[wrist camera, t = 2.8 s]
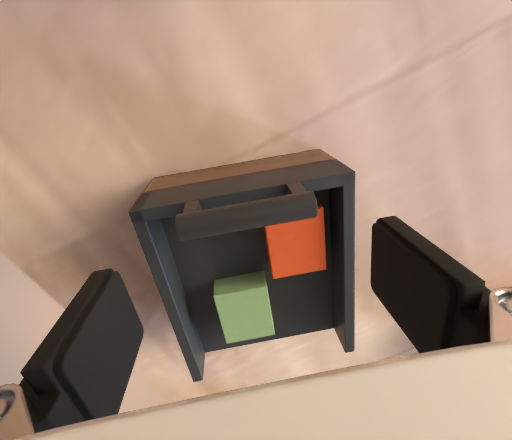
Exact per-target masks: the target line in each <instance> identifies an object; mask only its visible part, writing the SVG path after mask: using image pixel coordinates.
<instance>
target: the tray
mask: <svg viewBox="0 0 512 440" xmlns="http://www.w3.org/2000/svg"><path fill="white" fill-rule="evenodd" d="M316 199H317V200H318V202H319V203H320V204H321V205H322V207H323V208H324V228H325V248H326V269H325V270H320V271H315V272H309V273H304V274H298V275H293V276H288V277H282V278H277V279H273V278H272V274H271V270H270V266H269V260H268V254H267V248H266V241H265V235H264V228H263V227H265V226H271V225H276V224H282V223H288V222H293V221H299V220H304V219H310V218H315V217H317V214H318V207H317V201H316ZM128 213H129V215H130V218H131V221H132V223H133V225H134V228H135V230H136V233H137V236H138V238H139V241H140V243H141V246H142V249H143V251H144V254H145V256H146V259H147V262H148V264H149V267H150V269H151V272H152V275H153V277H154V280H155V282H156V285H157V288H158V290H159V293H160V295H161V298H162V301H163V303H164V306H165V308H166V311H167V314H168V316H169V319H170V321H171V324H172V327H173V329H174V332H175V334H176V337H177V340H178V342H179V345H180V347H181V350H182V353H183V355H184V358H185V360H186V363H187V366H188V368H189V371H190V373H191V376H192V379H193V381H194V382H196V381H201V380H203V371H204V358H205V352H210V351H216V350H221V349H226V348H231V347H237V346H242V345H247V344H252V343H258V342H263V341H268V340H273V339H279V338H284V337H289V336H294V335H300V334H305V333H310V332H315V331H321V330H326V329H331V328H334V329H335V331H336V333H337V335H338V337H339V340H340V342H341V344H342V346H343V349H344V351H345V352H352V351H354V308H355V171H353V170H352V169H350V168H349V167H347V166H346V165H344V164H343V163H341V162H340V161H338V160H337V159H333V160H327V161H321V162H316V163H310V164H304V165H299V166H293V167H287V168H281V169H276V170H270V171H264V172H259V173H253V174H247V175H242V176H236V177H230V178H225V179H219V180H213V181H207V182H202V183H196V184H190V185H185V186H179V187H173V188H168V189H162V190H156V191H151V192H145V193H142V195H141V196H140V197H139V199H138V200H137V201H136V202H135V204H134V205H133V206H132V208H131V209H130V210H129V212H128ZM260 271H264V275H265V279H266V284H267V289H268V295H269V301H270V307H271V313H272V319H273V325H274V331H275V335H270V336H265V337H260V338H255V339H249V340H244V341H239V342H234V343H228V344H227V343H226V340H225V337H224V333H223V330H222V326H221V323H220V319H219V315H218V312H217V308H216V305H215V301H214V297H213V292H214V280H216V279H222V278H227V277H233V276H238V275H243V274H249V273H254V272H260Z"/></svg>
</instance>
